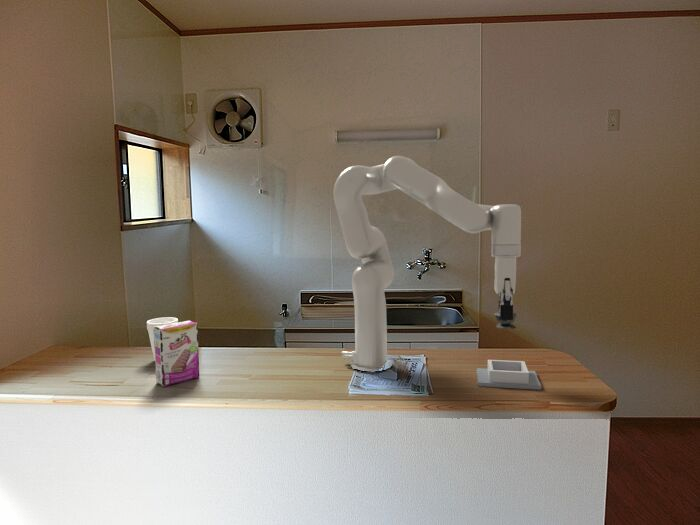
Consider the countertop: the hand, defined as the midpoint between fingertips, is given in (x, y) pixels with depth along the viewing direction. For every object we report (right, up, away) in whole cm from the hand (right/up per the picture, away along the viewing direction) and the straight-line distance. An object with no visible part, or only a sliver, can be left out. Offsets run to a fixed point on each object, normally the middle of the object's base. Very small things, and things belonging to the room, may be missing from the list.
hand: (505, 316), depth 139 cm
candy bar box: (-91, -19, +7) cm, 93 cm away
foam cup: (-102, -17, +27) cm, 107 cm away
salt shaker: (0, -3, 0) cm, 3 cm away
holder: (+1, -18, +2) cm, 18 cm away
